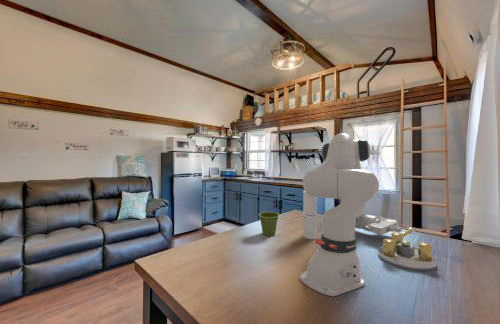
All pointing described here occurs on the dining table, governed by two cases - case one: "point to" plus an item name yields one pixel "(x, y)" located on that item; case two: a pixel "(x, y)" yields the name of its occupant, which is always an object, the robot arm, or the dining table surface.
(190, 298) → the dining table surface
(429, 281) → the dining table surface
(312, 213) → the cylindrical container
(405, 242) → the tribrach
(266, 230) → the plant pot
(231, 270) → the dining table surface
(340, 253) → the robot arm
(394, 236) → the brass lever handle
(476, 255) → the dining table surface
